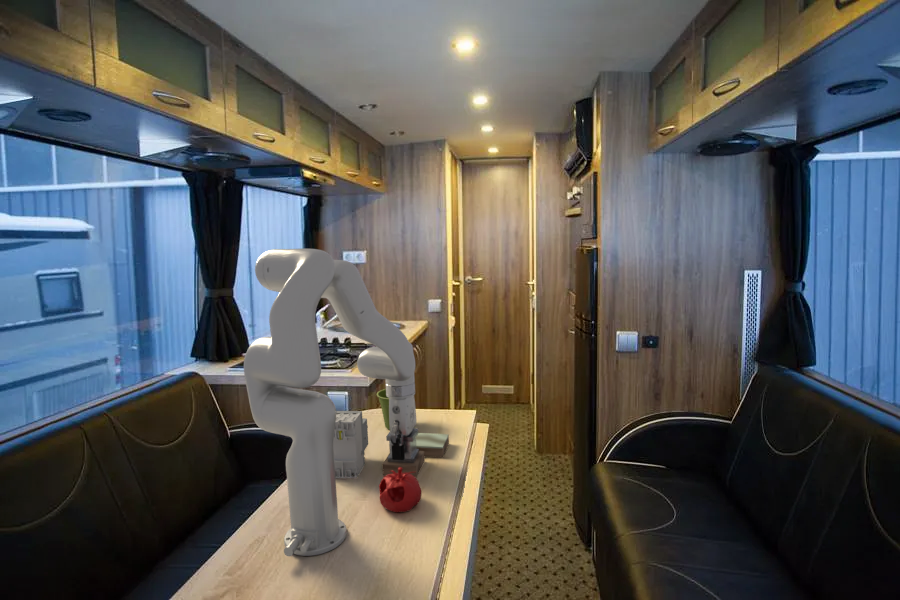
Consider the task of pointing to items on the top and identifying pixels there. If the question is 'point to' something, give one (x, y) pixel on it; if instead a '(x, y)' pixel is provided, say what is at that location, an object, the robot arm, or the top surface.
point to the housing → (406, 447)
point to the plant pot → (384, 406)
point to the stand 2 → (432, 444)
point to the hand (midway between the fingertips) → (403, 451)
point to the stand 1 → (404, 466)
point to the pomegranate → (399, 491)
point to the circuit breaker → (349, 443)
